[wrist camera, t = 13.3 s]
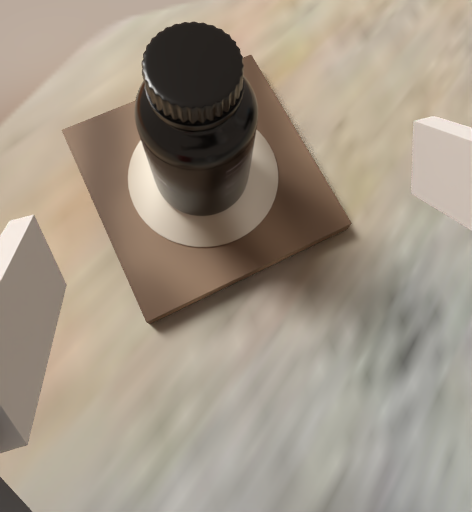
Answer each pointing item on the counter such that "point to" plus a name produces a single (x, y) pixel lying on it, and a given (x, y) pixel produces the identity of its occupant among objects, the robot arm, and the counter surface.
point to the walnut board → (204, 227)
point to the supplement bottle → (196, 118)
